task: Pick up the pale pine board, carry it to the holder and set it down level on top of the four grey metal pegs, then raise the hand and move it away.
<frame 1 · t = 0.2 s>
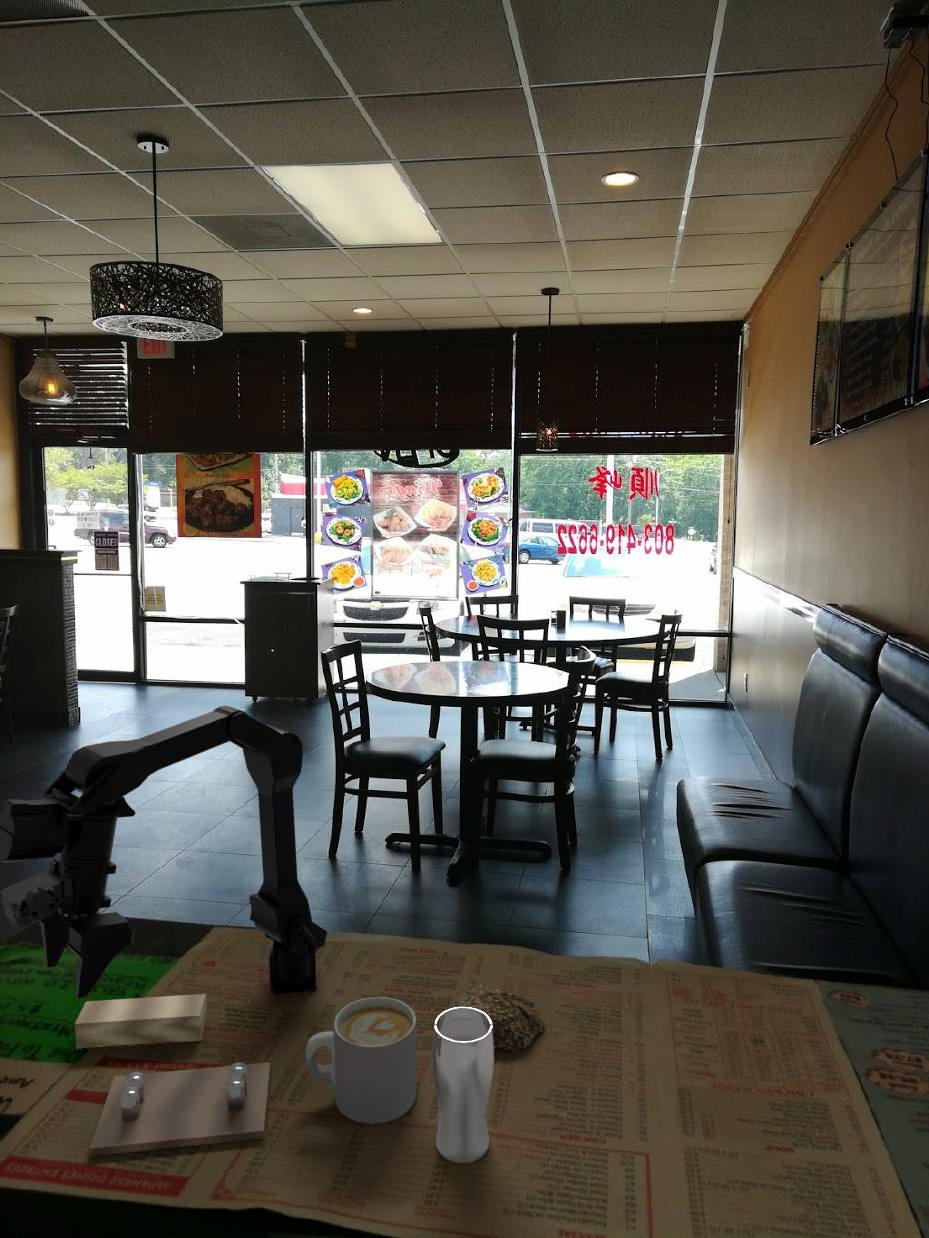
hand: (66, 981, 107), 15 cm above the table, tool pointing down, fingers open, 9 cm apart
peg holder: (186, 1109, 106), on the table
pine board: (143, 1035, 121), on the table
beer glass: (462, 1144, 101), on the table
coffee mug: (362, 1094, 110), on the table
bread roll: (497, 1027, 123), on the table
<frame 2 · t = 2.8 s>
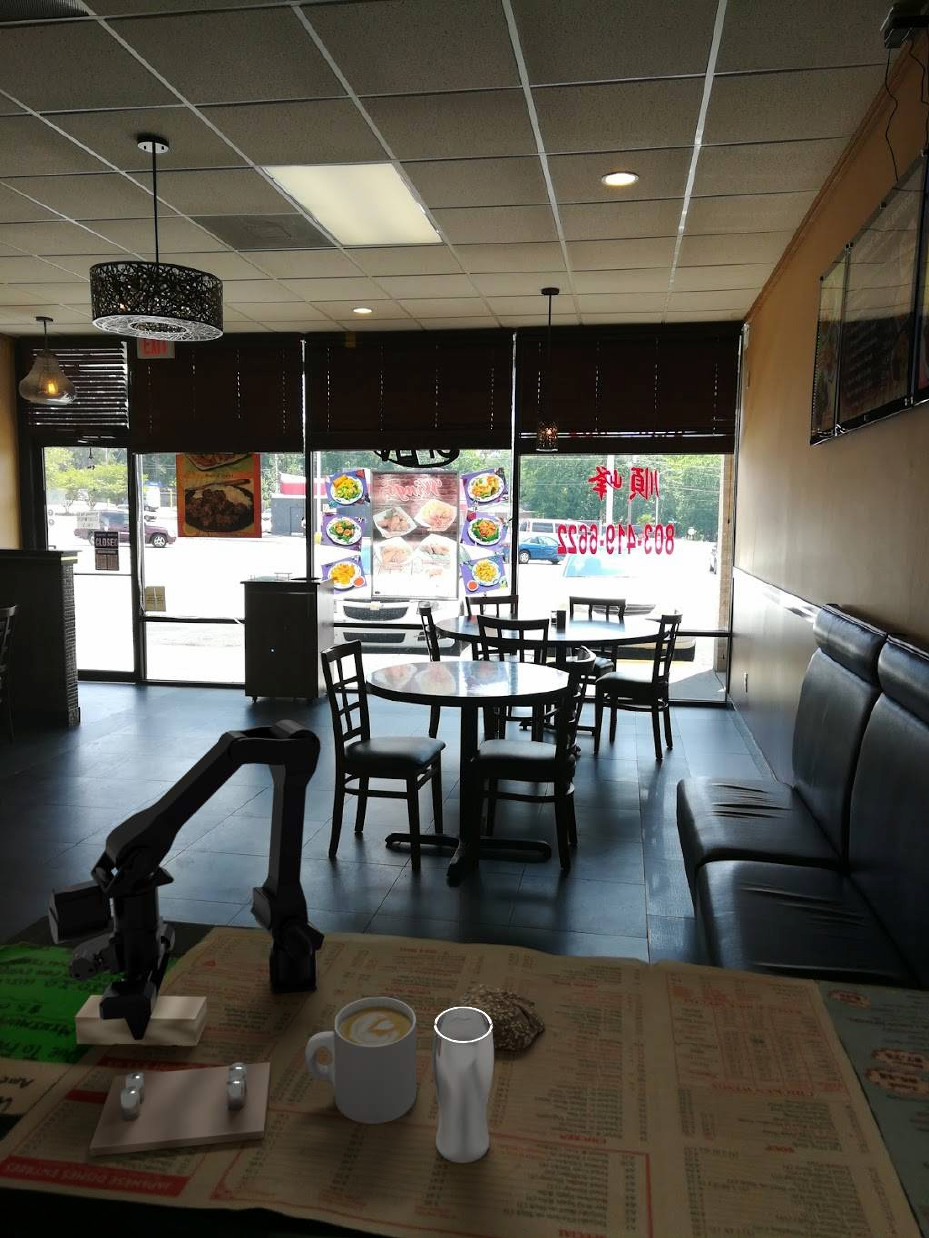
hand: (143, 1025, 121), 1 cm above the table, tool pointing down, fingers closed on pine board, 5 cm apart
pine board: (143, 1033, 121), on the table, touching gripper
everything else where it was.
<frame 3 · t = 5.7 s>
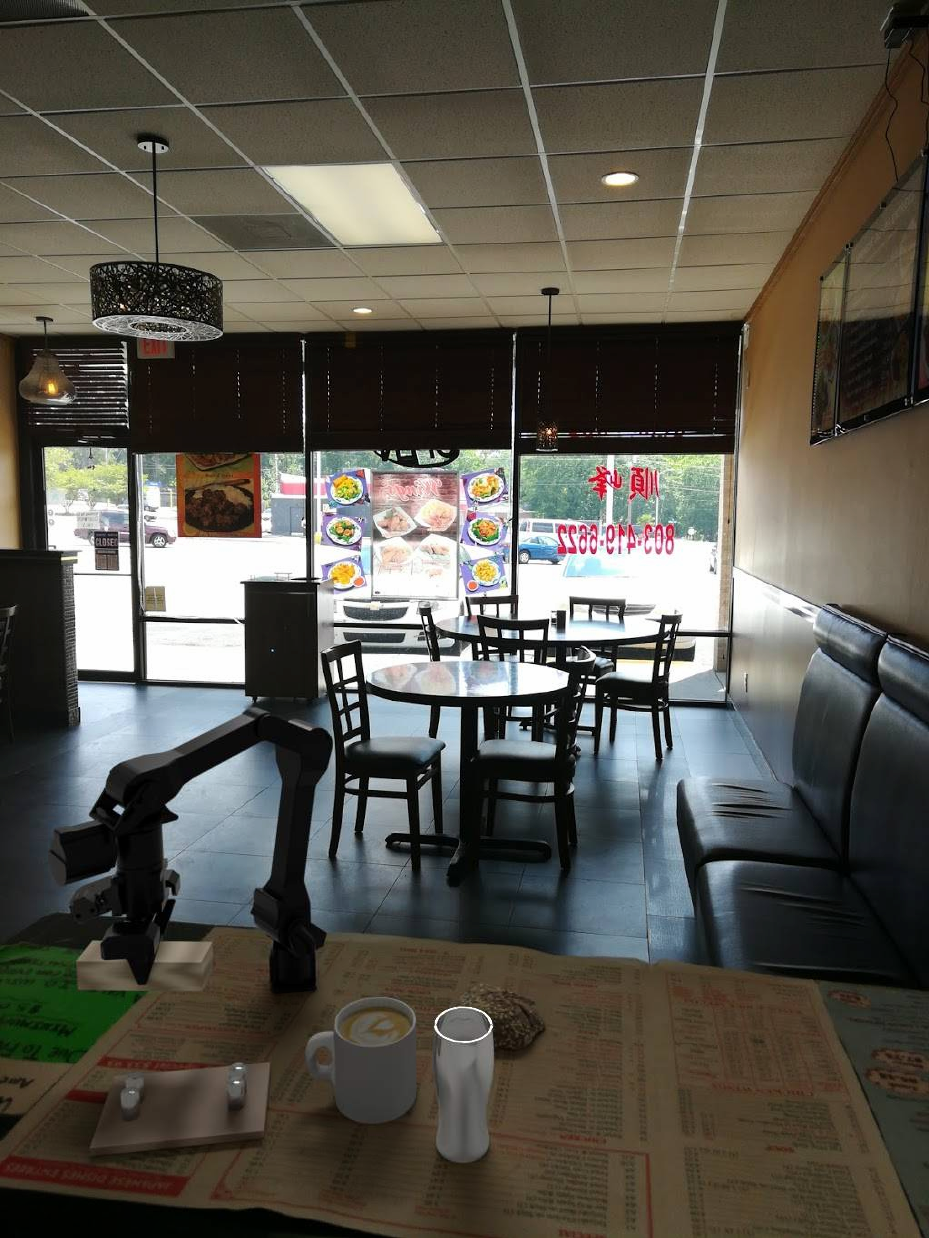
hand: (146, 972, 116), 11 cm above the table, tool pointing down, fingers closed on pine board, 5 cm apart
pine board: (147, 979, 116), point 10 cm above the table, touching gripper
everything else where it was.
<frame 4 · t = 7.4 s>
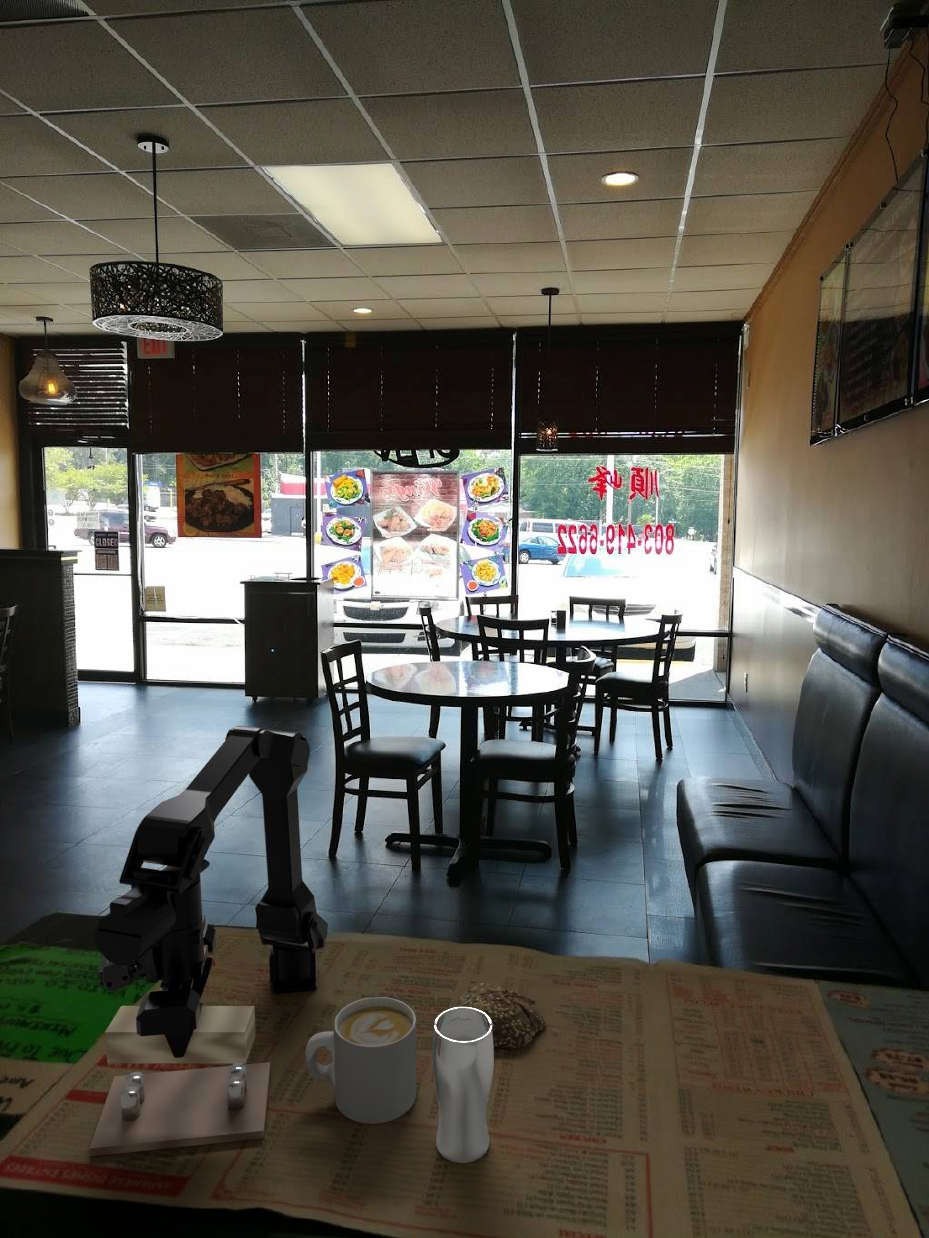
hand: (183, 1041, 105), 9 cm above the table, tool pointing down, fingers closed on pine board, 5 cm apart
pine board: (183, 1049, 105), point 8 cm above the table, touching gripper
everything else where it was.
when the fingers open (6 cm above the table, at t = 8.7 s): pine board drops 1 cm, resting on peg holder.
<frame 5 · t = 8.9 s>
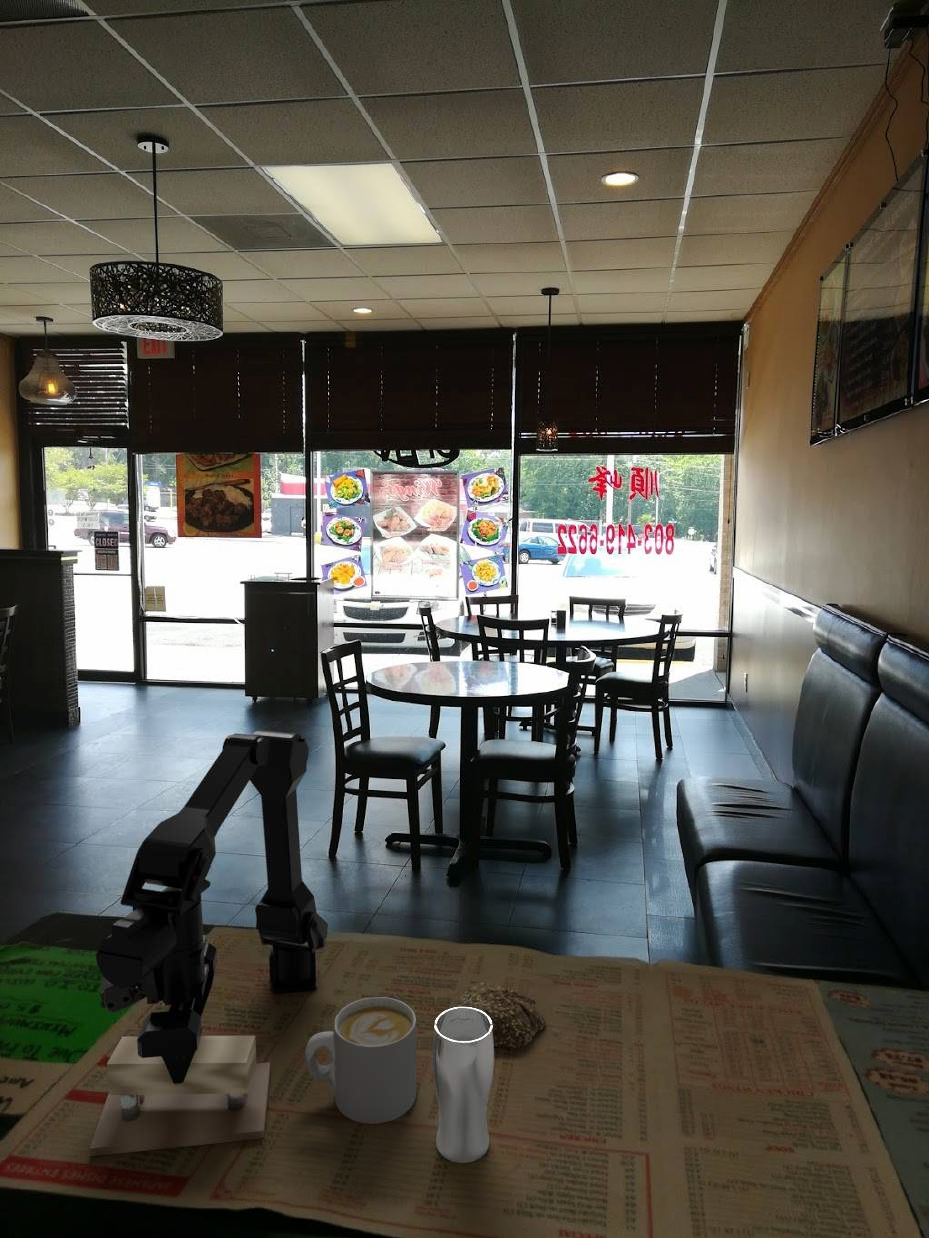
hand: (183, 1060, 105), 6 cm above the table, tool pointing down, fingers open, 7 cm apart
pine board: (184, 1079, 106), point 4 cm above the table, touching peg holder
everything else where it was.
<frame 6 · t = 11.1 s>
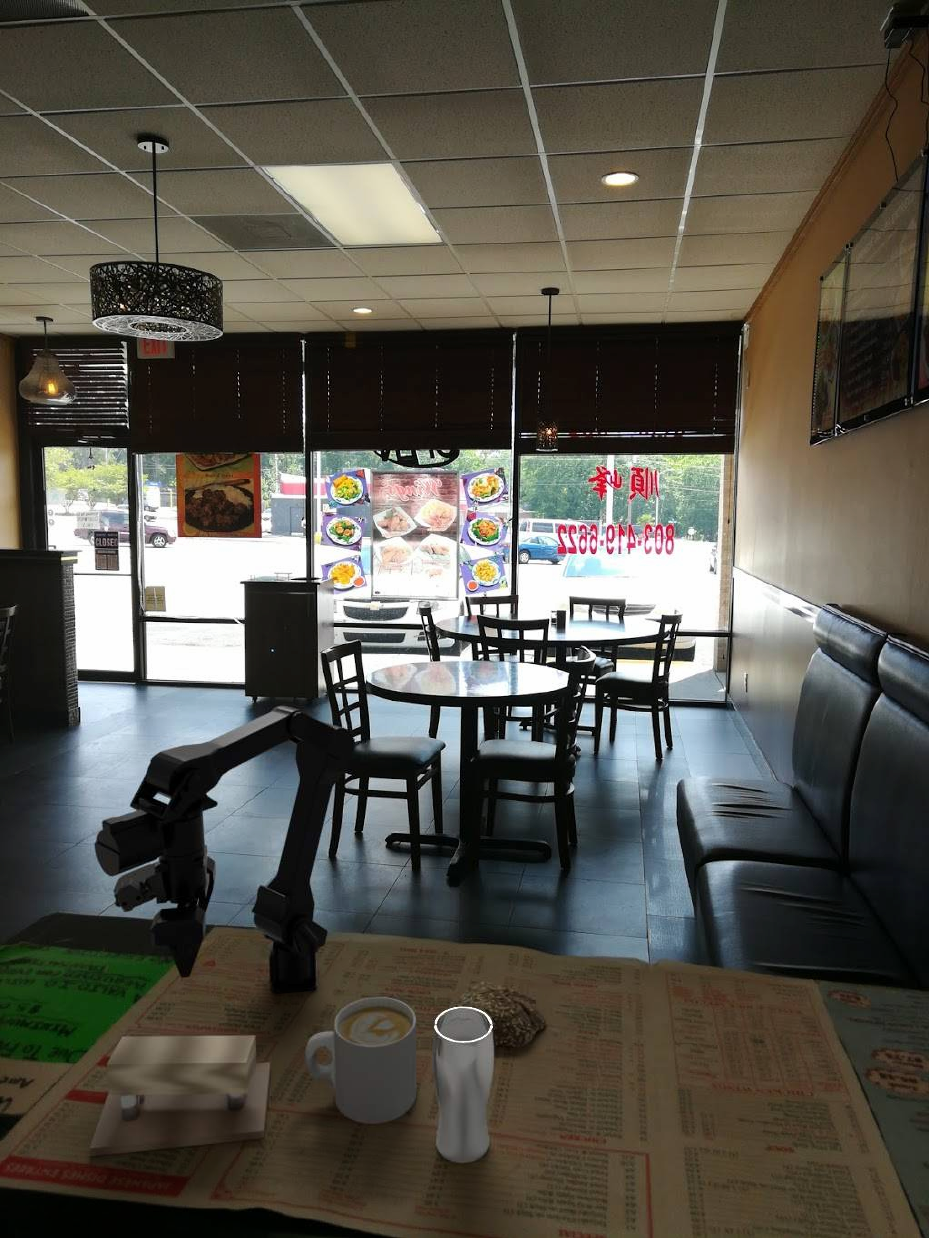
hand: (189, 957, 118), 12 cm above the table, tool pointing down, fingers open, 9 cm apart
nothing on the table moved.
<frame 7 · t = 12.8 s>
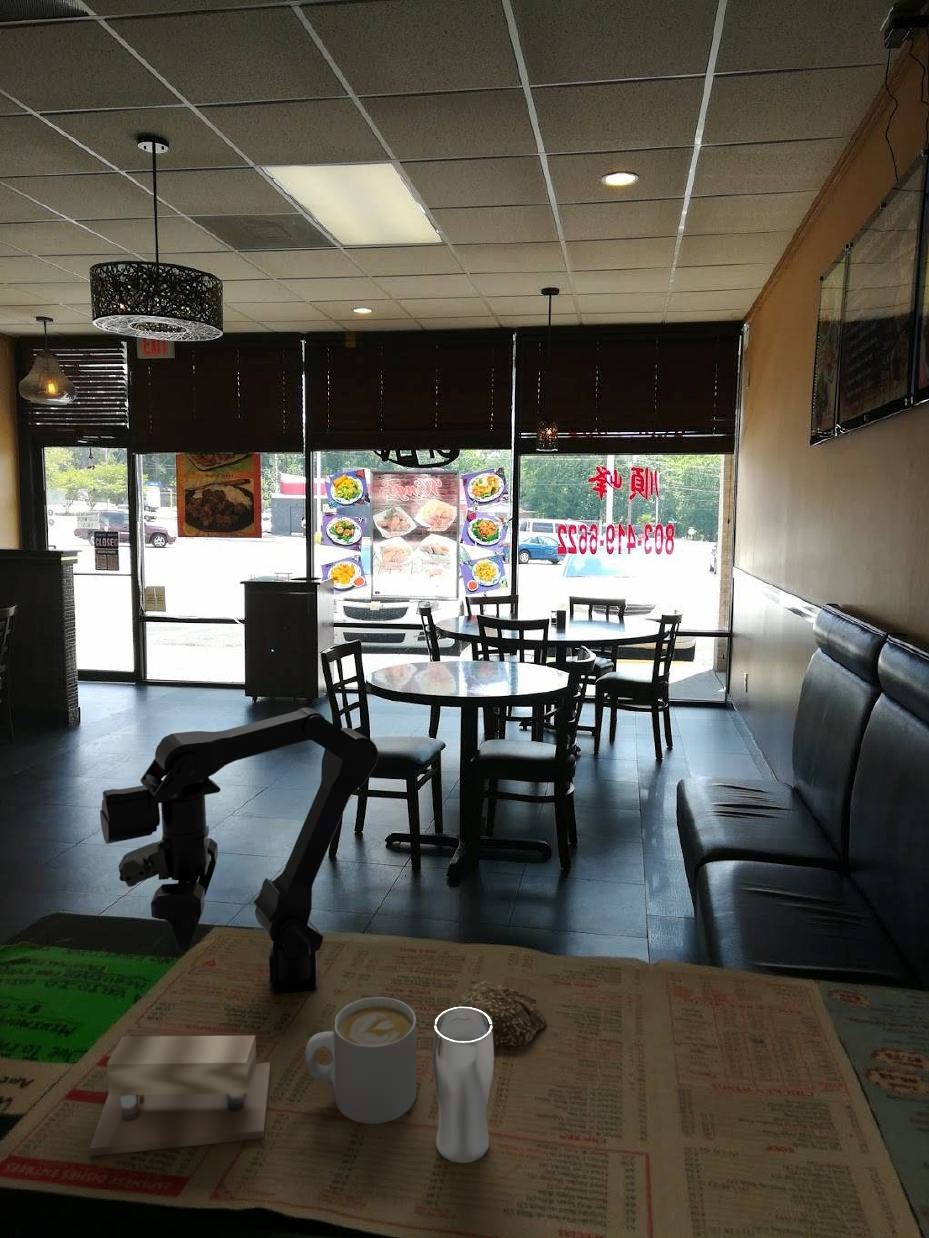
hand: (189, 932, 123), 12 cm above the table, tool pointing down, fingers open, 9 cm apart
nothing on the table moved.
at the end: pine board 0.0 cm off-centre on the peg holder, point 4.0 cm above the peg holder's base; pine board tilted 0°; the gripper is holding nothing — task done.
